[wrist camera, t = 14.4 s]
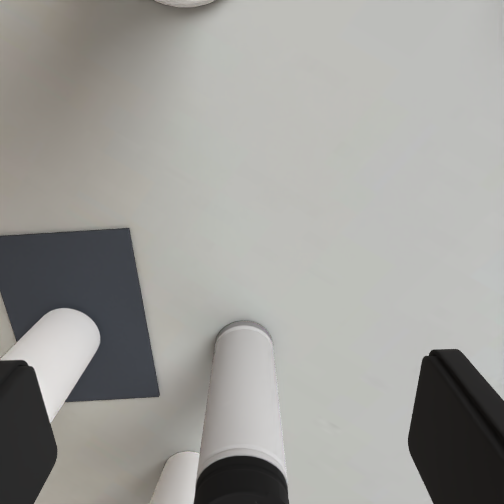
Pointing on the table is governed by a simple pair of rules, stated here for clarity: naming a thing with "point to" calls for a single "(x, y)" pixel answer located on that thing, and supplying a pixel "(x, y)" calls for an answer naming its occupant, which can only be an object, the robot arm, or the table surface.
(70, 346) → the can
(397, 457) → the table surface
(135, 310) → the mat
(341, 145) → the table surface
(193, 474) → the foam cup
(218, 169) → the table surface
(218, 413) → the travel mug
